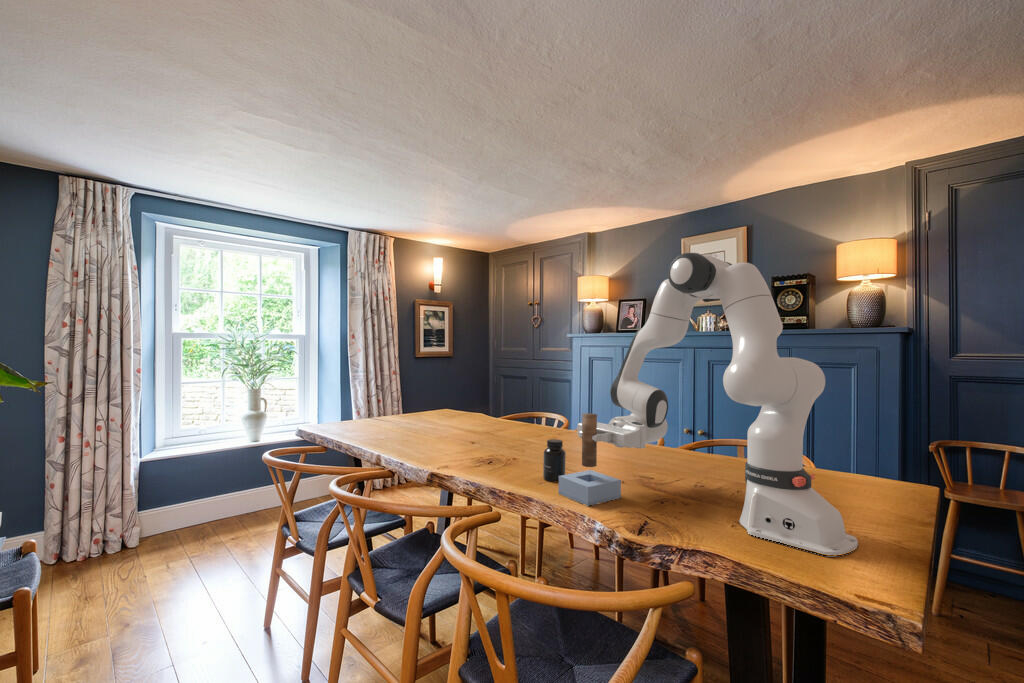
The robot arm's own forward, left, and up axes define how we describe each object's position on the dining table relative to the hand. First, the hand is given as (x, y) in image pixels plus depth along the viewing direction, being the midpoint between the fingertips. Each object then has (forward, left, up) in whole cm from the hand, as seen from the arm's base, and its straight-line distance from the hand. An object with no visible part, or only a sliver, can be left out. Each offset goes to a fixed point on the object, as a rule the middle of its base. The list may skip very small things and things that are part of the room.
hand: (586, 436), depth 127 cm
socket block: (0, -1, -16) cm, 17 cm away
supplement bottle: (+18, -3, -17) cm, 25 cm away
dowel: (0, -1, -8) cm, 8 cm away
